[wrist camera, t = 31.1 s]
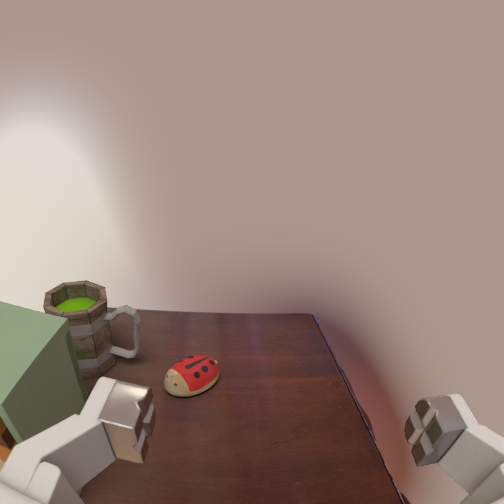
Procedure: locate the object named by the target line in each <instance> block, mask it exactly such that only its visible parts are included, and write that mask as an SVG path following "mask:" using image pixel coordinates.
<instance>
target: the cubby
mask: <svg viewBox="0 0 504 504" xmlns="http://www.w3.org/2000/svg"><path fill="white" fill-rule="evenodd" d="M87 400H88V394H87V391H86V388H85V385H84V381H83V378H82V375H81V371H80V368H79V364H78V360H77V356H76V352H75V349H74V344H73V340H72V336H71V332H70V327H69V322H68V318H64V317H60V316H55V315H51V314H47V313H43V312H39V311H34V310H31V309H27V308H23V307H19V306H15V305H12V304H8V303H4V302H0V416H1V418H2V420H3V421H4V423H5V425H6V426H7V428H8V430H9V431H10V433H11V434H12V436H13V437H14V439H15V440H16V442H17V443H18V444H19V443H21V442H23V441H25V440H27V439H29V438H31V437H33V436H35V435H37V434H39V433H41V432H43V431H44V430H46V429H48V428H50V427H52V426H54V425H56V424H58V423H59V422H61V421H63V420H65V419H67V418H69V417H70V416H72V415H74V414H77V415H80V413H81V411H82V409H83V407H84V406H85V404H86V402H87ZM4 464H5V463H4V462H3V460H2V459H1V458H0V471H1V469H2V468H3V466H4ZM83 487H84V486H82V487H81V488H80V489H78V490H77V491H76V493H77V494H78V495H79V497H80V495H81V492H82V490H83Z"/></svg>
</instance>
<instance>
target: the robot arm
mask: <svg viewBox="0 0 504 504" xmlns="http://www.w3.org/2000/svg"><path fill="white" fill-rule="evenodd" d="M152 398H153V393H152V388H150V387H145V386H141V385H136V384H132V383H128V382H123V381H119V380H114V379H110V378H106V377H103V376H102V377H101V378H100V379H99V380H98V381H97V383H96V385H95V387H94V388H93V390H92V392H91V394H90V396H89V398H88V400H87V402H86V404H85V406H84V407H83V409H82V411H81V413H80V415H77V414H74V415H72V416H70V417H69V418H67V419H65V420H63V421H61V422H59V423H58V424H56V425H54V426H52V427H50V428H48V429H46V430H44V431H43V432H41V433H39V434H37V435H35V436H33V437H31V438H29V439H27V440H25V441H23V442H21V443H19V444H18V445H16V446H14V448H13V450H12V451H11V453H10V455H9V457H8V458H7V460H6V462H5V464H4V466H3V468H2V469H1V471H0V504H85V503H84V502H83V501H82V499H81V498H80V497H79V495H78V494H77V493H76V491H77V490H78V489H80V488H81V487H82V486H84V485H85V484H86V483H87V482H89V481H90V480H91V479H92V478H94V477H95V476H96V475H97V474H99V473H100V472H101V471H102V470H104V469H105V468H106V467H107V466H109V465H110V464H111V463H112V462H113V461H115V460H116V459H115V458H117V459H122V460H126V461H131V462H135V463H140V464H144V460H145V457H146V453H147V450H148V442H147V438H148V437H150V436H151V435H152V432H153V429H154V423H155V407H154V405H153V404H152V403H151V401H152ZM415 408H416V411H415V412H414V413H413V414H411V415H410V416H409V418H408V419H407V421H406V424H405V437H406V439H407V442H409V443H410V444H411V445H413V448H412V454H413V457H414V459H415V462H416V465H417V467H418V466H423V465H429V464H433V463H437V464H438V465H439V466H440V467H441V468H442V469H443V470H444V471H445V472H446V473H447V474H449V475H450V476H451V477H452V478H453V479H454V480H455V481H456V482H457V483H458V484H459V485H461V487H463V488H464V489H465V490H466V491H467V492H468V493H469V495H468V496H467V497H466V498H465V499H464V500H463V501H462V502H461V504H504V438H502V437H501V436H499V435H498V434H496V433H494V432H493V431H491V430H490V429H488V428H487V427H485V426H483V425H479V424H478V422H477V421H476V419H475V418H474V416H473V414H472V413H471V411H470V409H469V408H468V406H467V405H466V403H465V401H464V399H463V398H462V396H461V395H459V394H458V393H457V394H450V395H443V396H436V397H428V398H422V399H420V400H419V401H418V402H417V404H416V406H415Z"/></svg>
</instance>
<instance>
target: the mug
mask: <svg viewBox="0 0 504 504" xmlns="http://www.w3.org/2000/svg"><path fill="white" fill-rule="evenodd" d="M43 307H44V310H45V313H47V314H51V315H55V316H60V317H64V318H68V322H69V327H70V332H71V336H72V340H73V344H74V349H75V352H76V356H77V360H78V364H79V368H80V371H81V375H82V378H83V379H87V378H95V377H102V376H103V375H104V374H105V373H106V372H107V371H108V370H109V369H110V368H111V367H112V366H113V365H114V364H115V363H116V359H115V355H119V356H122V357H125V358H133V357H136V356H137V354H138V352H139V350H140V318H139V316H138V313H137V311H136V309H134V308H131V307H129V306H127V305H126V306H121V307H119V308H118V309H116V310H115V311H114V312H113V313H107V297H106V291H105V287H103V286H100V285H97V284H95V283H92V282H89V281H77V282H67V283H62V284H60V285H59V286H57V287H55V288H53V289H52V290H50V291H48V292H47V293H45V300H44V306H43ZM123 313H127V314H129V315H131V316H132V318H133V321H134V324H135V326H134V341H135V349H134V350H132V351H128V350H125V349H123V348H119V347H116V346H112V334H111V329H110V324H109V320H114V319H115V318H116V317H117V316H119V315H120V314H123Z"/></svg>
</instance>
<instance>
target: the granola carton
mask: <svg viewBox="0 0 504 504" xmlns="http://www.w3.org/2000/svg"><path fill="white" fill-rule="evenodd" d="M16 445H18V443H17V442H16V440H15V439H14V437H13V436H12V434H11V433H10V431H9V430H8V428H7V426H6V425H5V423H4V421H3V420H2V418H1V416H0V458H1V459H2V460H3V462H4V463H5V462H6V460H7V458H8V457H9V455H10V453H11V451H12V450H13V448H14V446H16Z"/></svg>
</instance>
